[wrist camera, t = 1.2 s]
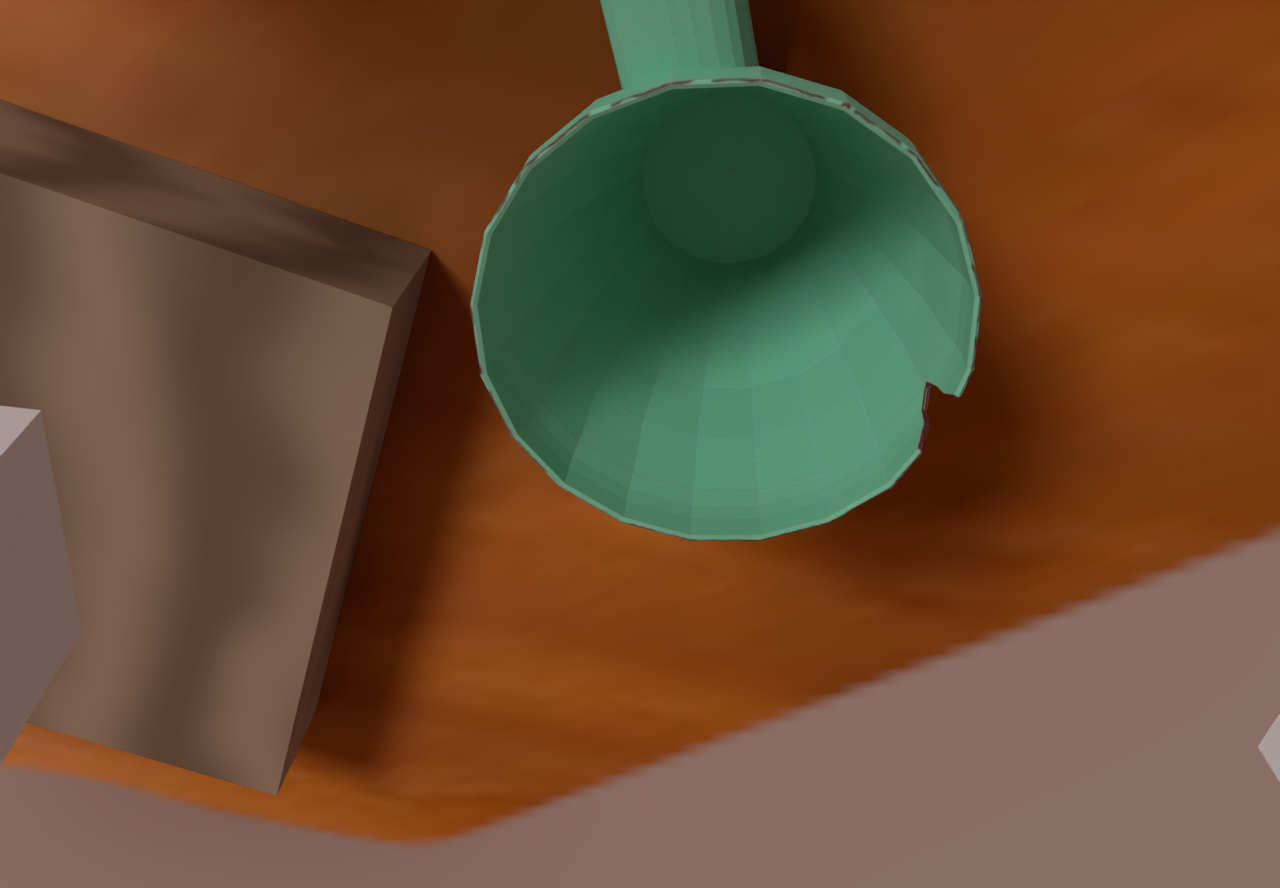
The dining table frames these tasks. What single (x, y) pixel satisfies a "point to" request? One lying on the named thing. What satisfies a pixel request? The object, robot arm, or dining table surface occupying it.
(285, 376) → the plinth
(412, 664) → the dining table surface
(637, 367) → the mug
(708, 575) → the dining table surface
